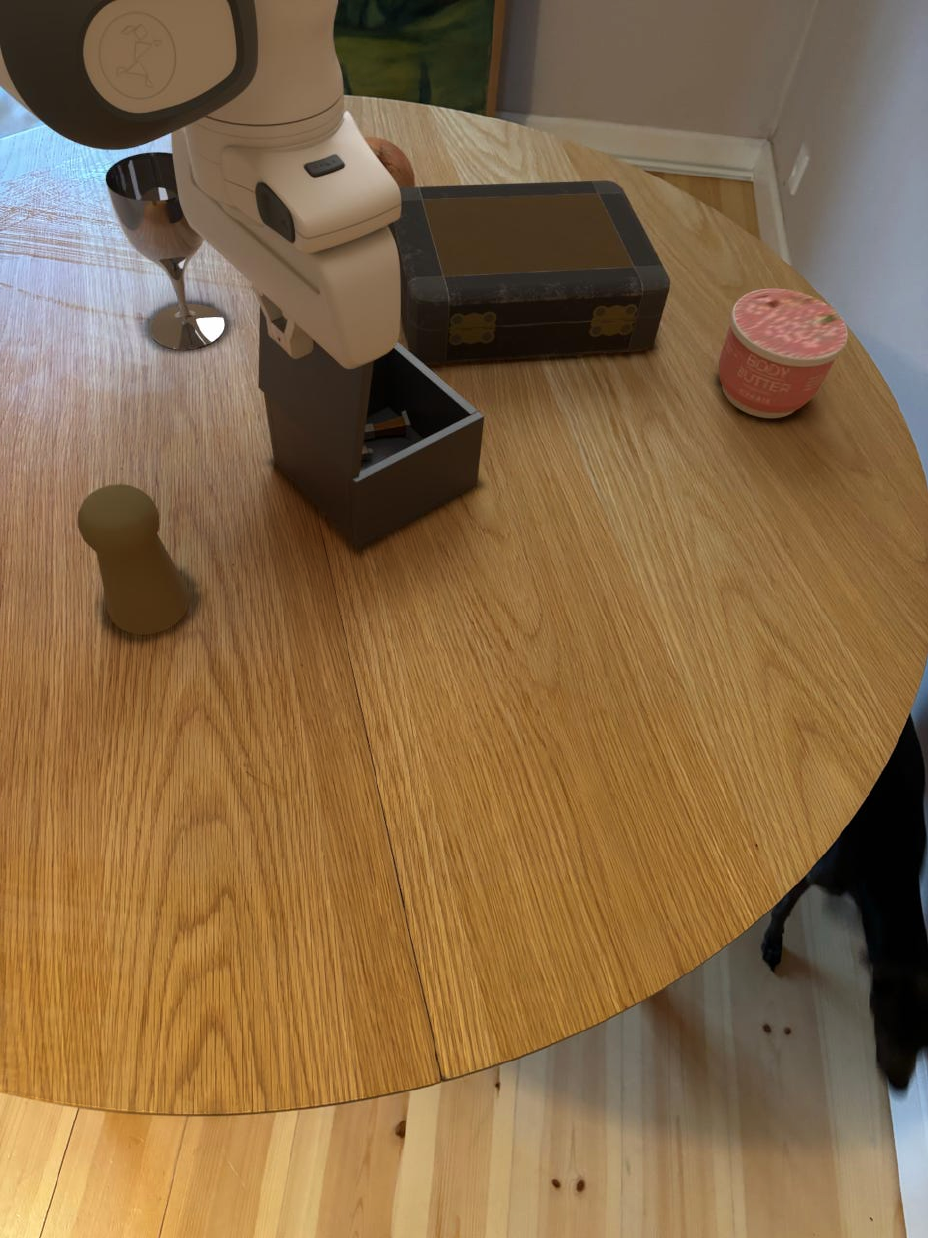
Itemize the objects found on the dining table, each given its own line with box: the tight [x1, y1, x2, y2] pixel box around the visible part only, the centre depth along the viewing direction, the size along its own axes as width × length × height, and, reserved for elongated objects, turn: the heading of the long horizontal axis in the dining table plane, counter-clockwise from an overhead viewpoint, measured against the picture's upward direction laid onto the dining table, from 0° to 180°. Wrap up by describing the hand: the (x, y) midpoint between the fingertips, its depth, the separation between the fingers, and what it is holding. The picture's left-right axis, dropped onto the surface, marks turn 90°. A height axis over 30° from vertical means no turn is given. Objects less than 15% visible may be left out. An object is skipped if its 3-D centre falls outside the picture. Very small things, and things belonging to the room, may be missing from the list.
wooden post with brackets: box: [361, 411, 411, 460], centre depth 77 cm, size 2×8×4 cm
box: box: [263, 341, 485, 551], centre depth 74 cm, size 13×13×8 cm
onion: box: [364, 136, 416, 226], centre depth 97 cm, size 10×9×10 cm
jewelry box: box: [388, 180, 671, 365], centre depth 90 cm, size 25×20×8 cm
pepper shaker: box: [77, 483, 191, 636], centre depth 63 cm, size 6×6×11 cm
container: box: [718, 288, 849, 419], centre depth 84 cm, size 10×10×8 cm
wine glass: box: [105, 151, 226, 351], centre depth 81 cm, size 8×8×15 cm
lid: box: [258, 305, 374, 480], centre depth 63 cm, size 13×13×1 cm
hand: (291, 345), depth 61 cm, fingers closed
